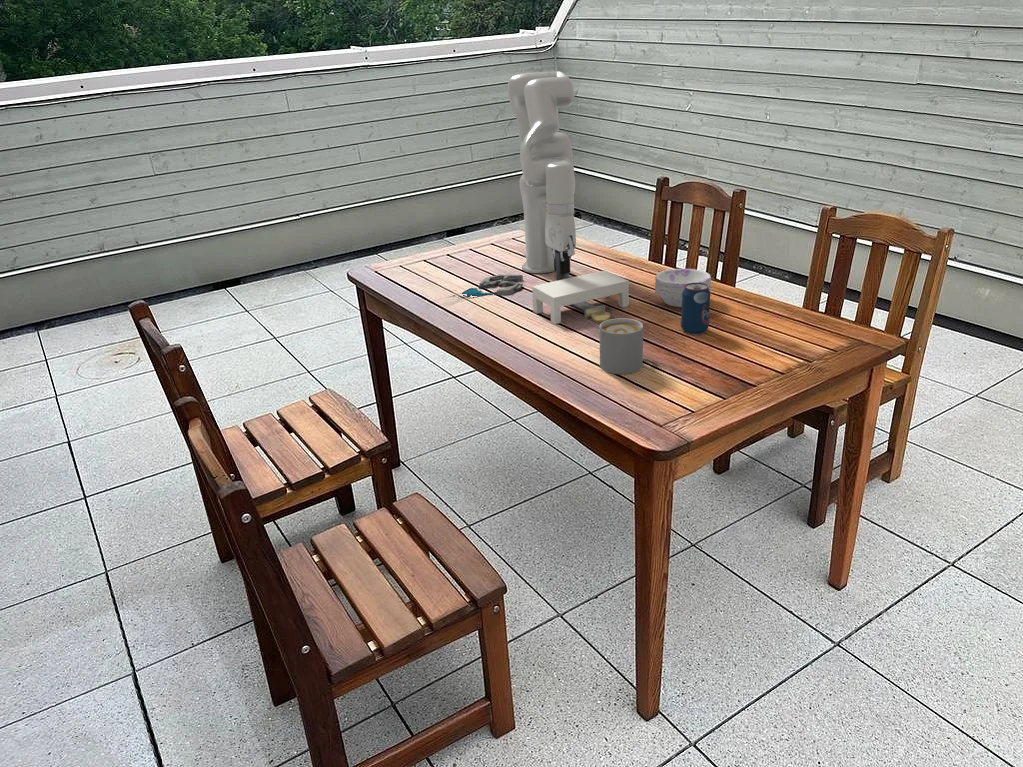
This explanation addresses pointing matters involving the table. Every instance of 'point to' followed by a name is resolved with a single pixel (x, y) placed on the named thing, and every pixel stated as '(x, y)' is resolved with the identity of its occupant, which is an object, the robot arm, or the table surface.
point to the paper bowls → (678, 283)
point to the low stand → (578, 292)
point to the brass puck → (600, 317)
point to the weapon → (497, 280)
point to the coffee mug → (621, 346)
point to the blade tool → (583, 306)
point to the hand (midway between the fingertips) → (562, 271)
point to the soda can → (695, 308)
